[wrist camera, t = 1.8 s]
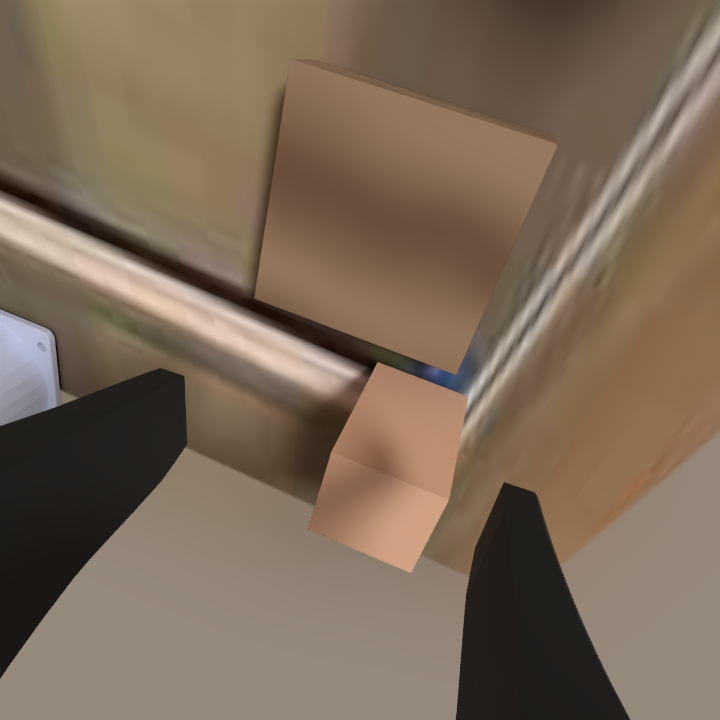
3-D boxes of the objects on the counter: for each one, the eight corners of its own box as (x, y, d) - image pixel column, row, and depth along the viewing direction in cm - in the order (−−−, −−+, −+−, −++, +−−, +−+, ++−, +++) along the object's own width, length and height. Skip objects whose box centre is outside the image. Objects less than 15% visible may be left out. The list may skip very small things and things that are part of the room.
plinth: (462, 349, 20) (456, 375, 18) (276, 280, 21) (254, 298, 19) (554, 136, 15) (558, 144, 14) (315, 60, 16) (290, 58, 15)
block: (436, 463, 23) (410, 572, 18) (355, 431, 23) (307, 529, 18) (468, 396, 21) (448, 499, 16) (377, 362, 21) (331, 452, 16)
